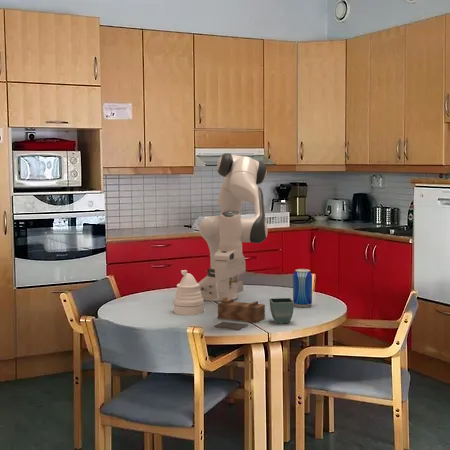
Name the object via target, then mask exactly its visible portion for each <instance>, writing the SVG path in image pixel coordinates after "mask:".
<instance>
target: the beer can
mask: <svg viewBox="0 0 450 450" xmlns="http://www.w3.org/2000/svg"><path fill="white" fill-rule="evenodd" d="M292 300H293V301H294V307H297V308H310V307H311V306H312V303H313V274H312V273H311V270H310V269H306V268H298V269H295V270H294V272H293V275H292ZM309 306H310V307H309Z"/></svg>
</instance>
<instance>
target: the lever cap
mask: <svg viewBox="0 0 450 450" xmlns="http://www.w3.org/2000/svg"><path fill="white" fill-rule="evenodd" d="M229 285H230V289H229V290H225V285H224V283H223V280H222V281H219V292H230V293H237V294H240V293H241V292H244V280H240V279H238V280H234V279H229Z"/></svg>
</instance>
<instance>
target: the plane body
mask: <svg viewBox="0 0 450 450" xmlns="http://www.w3.org/2000/svg"><path fill="white" fill-rule="evenodd" d="M217 319H223V320H230V319H231V320H232V321H239V320H242V321H241V322H248V323H249V322H250V323H256V322H258V323H260V322H262V321H263V320H266V304H264V303H259V301H258V300H257V301H256V300H255V301H252V302H245V301H243V302H241V301H235V299H231V300H228V298H227V297H223V298H222V301H221V302H219V303H218V304H217ZM231 320H230V321H231Z"/></svg>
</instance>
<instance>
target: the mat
mask: <svg viewBox="0 0 450 450" xmlns="http://www.w3.org/2000/svg"><path fill="white" fill-rule="evenodd" d="M248 326H249V325H248V324H247V323H238V322H232V321H221V322H218V323H217V324H215V325H214V324H213V328H214V327H215V328H216V329H217V328H218V329H222V330H223V329H225V330H231V331H232V330H234V331H240V330H242V328H243V329H244V328H246V327H248Z"/></svg>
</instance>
